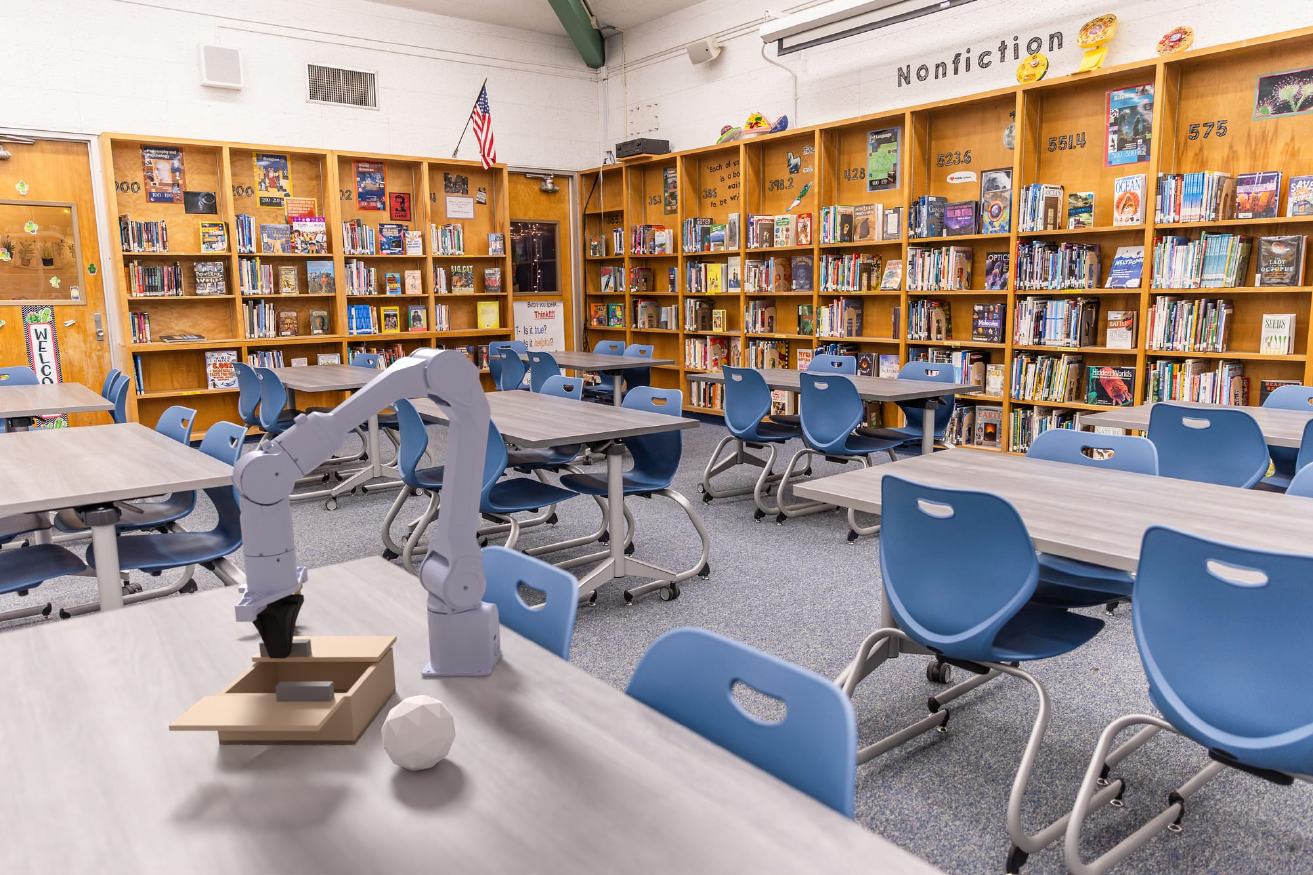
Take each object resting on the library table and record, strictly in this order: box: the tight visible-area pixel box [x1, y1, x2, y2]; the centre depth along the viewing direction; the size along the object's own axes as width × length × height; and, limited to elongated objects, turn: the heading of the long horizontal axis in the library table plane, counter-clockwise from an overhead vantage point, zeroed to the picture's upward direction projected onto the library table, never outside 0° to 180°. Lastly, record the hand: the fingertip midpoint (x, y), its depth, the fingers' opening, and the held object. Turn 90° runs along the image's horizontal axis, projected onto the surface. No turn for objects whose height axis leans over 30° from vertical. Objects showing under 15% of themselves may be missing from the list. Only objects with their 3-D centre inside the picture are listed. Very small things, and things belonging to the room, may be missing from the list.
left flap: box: [168, 682, 344, 732], centre depth 94 cm, size 16×7×2 cm, turn 88°
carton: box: [214, 646, 397, 746], centre depth 107 cm, size 16×14×6 cm
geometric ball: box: [380, 694, 457, 772], centre depth 95 cm, size 8×8×8 cm
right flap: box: [251, 635, 398, 663], centre depth 111 cm, size 16×7×2 cm, turn 87°
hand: (280, 656), depth 107 cm, fingers closed
